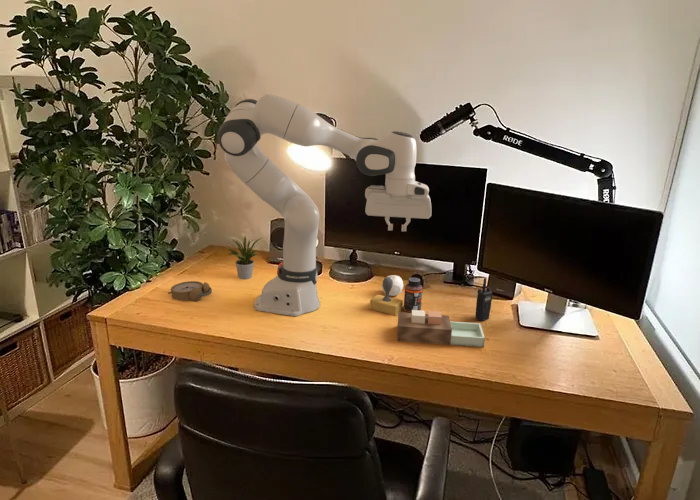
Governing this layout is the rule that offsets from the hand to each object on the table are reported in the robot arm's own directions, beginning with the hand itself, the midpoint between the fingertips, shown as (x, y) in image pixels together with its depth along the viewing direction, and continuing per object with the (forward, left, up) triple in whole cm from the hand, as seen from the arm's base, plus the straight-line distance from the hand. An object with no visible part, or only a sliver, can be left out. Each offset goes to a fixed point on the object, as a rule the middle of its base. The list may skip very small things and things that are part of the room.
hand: (397, 230), depth 167 cm
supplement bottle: (+7, +10, -31) cm, 34 cm away
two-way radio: (+30, +7, -31) cm, 44 cm away
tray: (+23, -9, -31) cm, 40 cm away
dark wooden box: (+10, -9, -31) cm, 34 cm away
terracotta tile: (+13, -9, -26) cm, 30 cm away
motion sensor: (0, +22, -31) cm, 38 cm away
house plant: (-57, +32, -31) cm, 72 cm away
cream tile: (+8, -9, -26) cm, 29 cm away
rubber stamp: (-2, +9, -31) cm, 33 cm away
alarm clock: (-71, +10, -32) cm, 78 cm away
